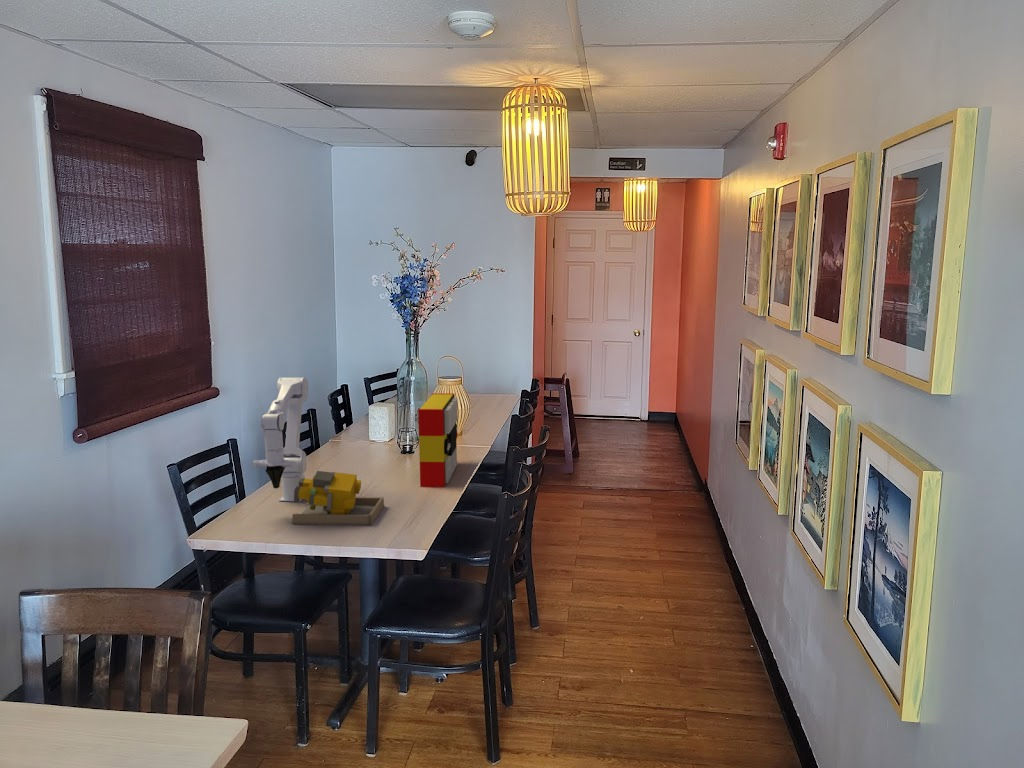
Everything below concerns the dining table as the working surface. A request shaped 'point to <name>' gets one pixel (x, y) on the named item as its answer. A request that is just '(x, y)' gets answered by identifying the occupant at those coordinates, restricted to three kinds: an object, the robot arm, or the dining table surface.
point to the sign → (437, 439)
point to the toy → (329, 491)
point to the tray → (360, 515)
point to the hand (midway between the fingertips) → (276, 487)
